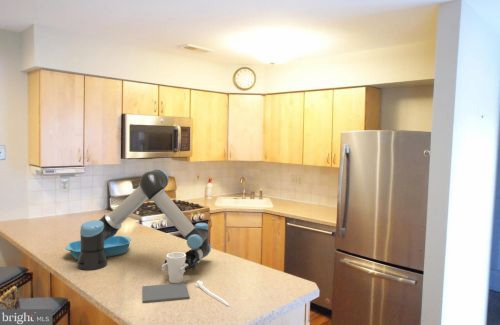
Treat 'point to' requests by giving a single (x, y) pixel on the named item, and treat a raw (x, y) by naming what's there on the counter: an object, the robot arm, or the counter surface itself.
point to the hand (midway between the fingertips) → (171, 269)
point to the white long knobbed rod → (200, 284)
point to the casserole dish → (111, 246)
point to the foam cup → (175, 266)
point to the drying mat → (165, 292)
